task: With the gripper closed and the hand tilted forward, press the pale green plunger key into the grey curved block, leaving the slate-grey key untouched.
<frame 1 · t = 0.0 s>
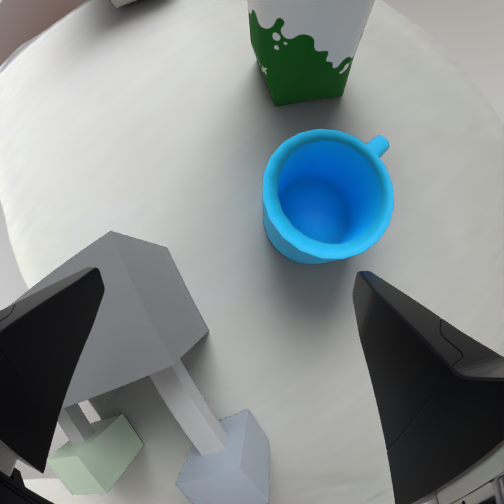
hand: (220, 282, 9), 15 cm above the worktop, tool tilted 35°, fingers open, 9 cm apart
mug: (325, 202, 25), on the worktop
grey curved block: (109, 330, 24), on the worktop
grey key: (189, 404, 19), point 5 cm above the worktop, slide at 0.0 cm
green key: (68, 409, 19), point 5 cm above the worktop, slide at 0.0 cm
milk carton: (297, 76, 26), on the worktop
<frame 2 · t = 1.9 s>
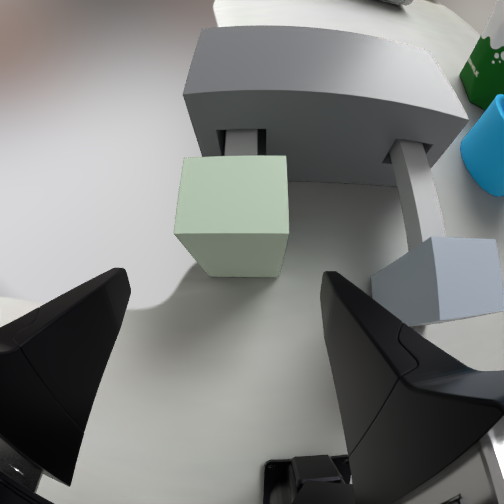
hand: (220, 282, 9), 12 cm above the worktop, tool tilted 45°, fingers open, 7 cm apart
mug: (493, 164, 24), on the worktop
grey curved block: (315, 144, 24), on the worktop
grey key: (417, 204, 17), point 5 cm above the worktop, slide at 0.0 cm
green key: (242, 158, 19), point 5 cm above the worktop, slide at 0.0 cm
milk carton: (481, 97, 27), on the worktop
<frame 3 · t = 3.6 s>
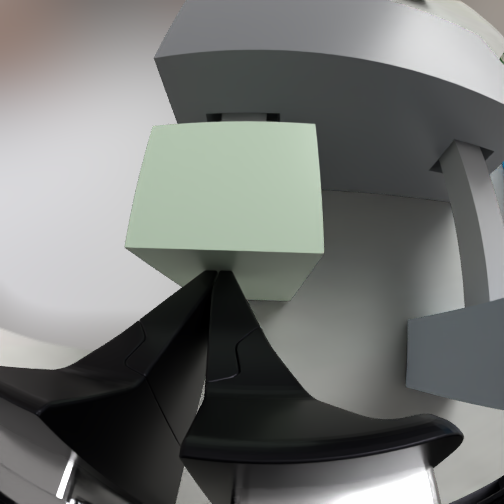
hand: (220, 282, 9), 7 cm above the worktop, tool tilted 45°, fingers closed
grey curved block: (338, 141, 19), on the worktop
grey key: (476, 229, 11), point 5 cm above the worktop, slide at 0.0 cm
green key: (245, 137, 13), point 5 cm above the worktop, slide at 1.1 cm, touching gripper
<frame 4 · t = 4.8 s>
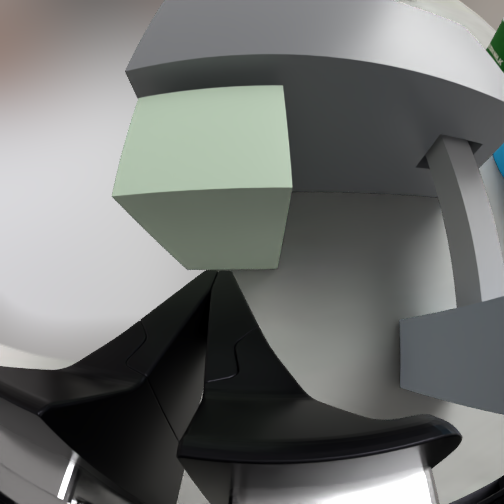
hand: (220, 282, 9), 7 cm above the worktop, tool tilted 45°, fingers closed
grey curved block: (323, 141, 18), on the worktop
grey key: (466, 225, 11), point 5 cm above the worktop, slide at 0.0 cm
green key: (226, 114, 14), point 5 cm above the worktop, slide at 3.2 cm
milk carton: (502, 89, 22), on the worktop
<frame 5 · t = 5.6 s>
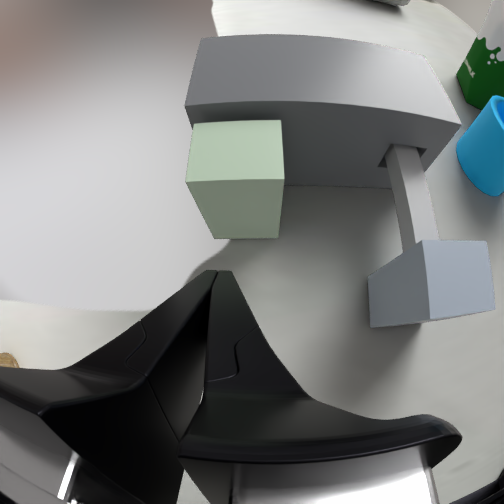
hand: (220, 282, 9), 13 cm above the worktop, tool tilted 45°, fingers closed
mug: (489, 164, 25), on the worktop
grey curved block: (313, 148, 25), on the worktop
sprinkles bottle: (11, 372, 20), on the worktop
grey key: (411, 206, 18), point 5 cm above the worktop, slide at 0.0 cm
green key: (243, 131, 21), point 5 cm above the worktop, slide at 3.2 cm
milk carton: (477, 97, 28), on the worktop
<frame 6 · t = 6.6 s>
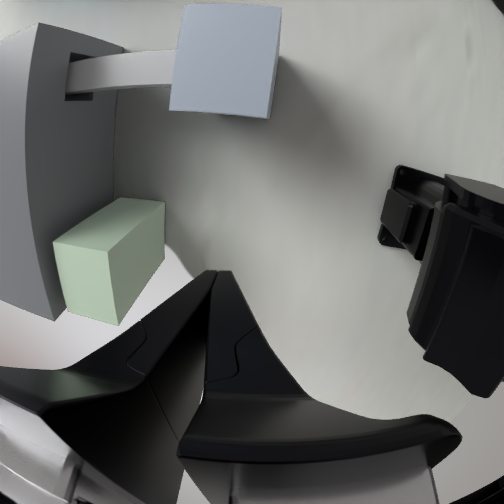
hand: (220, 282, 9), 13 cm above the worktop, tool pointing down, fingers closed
grey curved block: (76, 154, 21), on the worktop
grey key: (136, 71, 14), point 5 cm above the worktop, slide at 0.0 cm
green key: (64, 242, 19), point 5 cm above the worktop, slide at 3.2 cm
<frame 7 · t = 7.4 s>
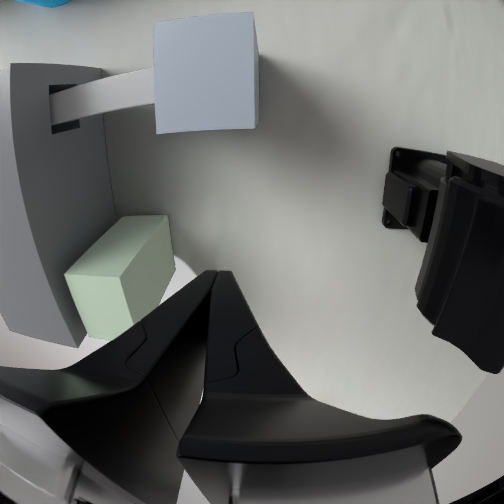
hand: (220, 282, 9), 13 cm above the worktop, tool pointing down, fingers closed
grey curved block: (72, 180, 21), on the worktop
grey key: (118, 93, 14), point 5 cm above the worktop, slide at 0.0 cm
green key: (75, 269, 20), point 5 cm above the worktop, slide at 3.2 cm
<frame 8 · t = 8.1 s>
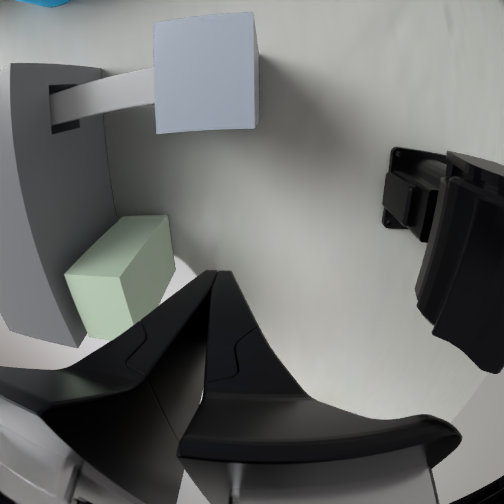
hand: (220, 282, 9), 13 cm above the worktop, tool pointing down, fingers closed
grey curved block: (72, 180, 21), on the worktop
grey key: (118, 93, 14), point 5 cm above the worktop, slide at 0.0 cm
green key: (75, 269, 20), point 5 cm above the worktop, slide at 3.2 cm
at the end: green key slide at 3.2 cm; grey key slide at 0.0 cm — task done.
